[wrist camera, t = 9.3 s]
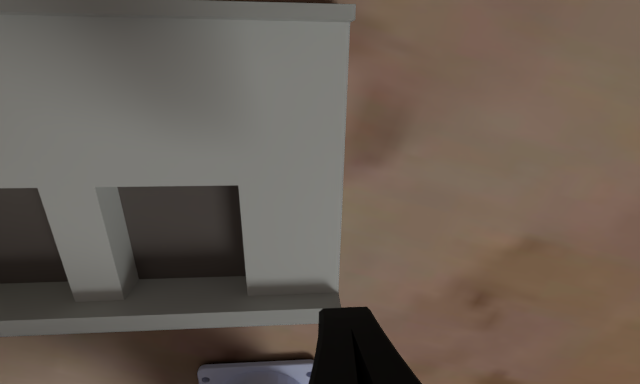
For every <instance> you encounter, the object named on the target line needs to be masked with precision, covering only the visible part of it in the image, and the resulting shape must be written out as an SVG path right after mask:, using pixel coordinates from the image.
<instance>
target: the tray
mask: <svg viewBox="0 0 640 384" xmlns="http://www.w3.org/2000/svg"><path fill="white" fill-rule="evenodd" d="M355 10H356V4H323V3H286V2H248V1H210V0H0V337H8V336H32V335H55V334H79V333H103V332H127V331H150V330H174V329H198V328H222V327H245V326H269V325H293V324H317V323H319V311H321V310H322V309H323V308H341V305H340V299H339V294H338V288H339V265H340V242H341V219H342V196H343V173H344V150H345V127H346V104H347V81H348V58H349V35H350V22H352V21H354V20H355Z"/></svg>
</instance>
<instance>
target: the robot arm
mask: <svg viewBox="0 0 640 384" xmlns="http://www.w3.org/2000/svg"><path fill="white" fill-rule="evenodd" d="M197 376H198V381H199V384H422V383H421V382H420V381H419V380H418V378H417V377H416V376H415V374H414V373H413V372H412V370H411V369H410V368H409V366H408V365H407V364H406V362H405V361H404V360H403V359H402V357H401V356H400V354H399V353H398V352H397V350H396V349H395V347H394V346H393V345H392V343H391V342H390V340H389V339H388V337H387V336H386V334H385V333H384V331H383V330H382V328H381V327H380V325H379V324H378V322H377V321H376V319H375V317H374V316H373V314H372V312H371V311H370V309H368V308H367V307H347V308H323V309H322V310H321V311H319V328H318V341H317V348H316V353H315V358H314V360H311V359H306V360H286V361H266V362H246V363H226V364H206V365H202V366H200V367H199V369H198V372H197Z"/></svg>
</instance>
